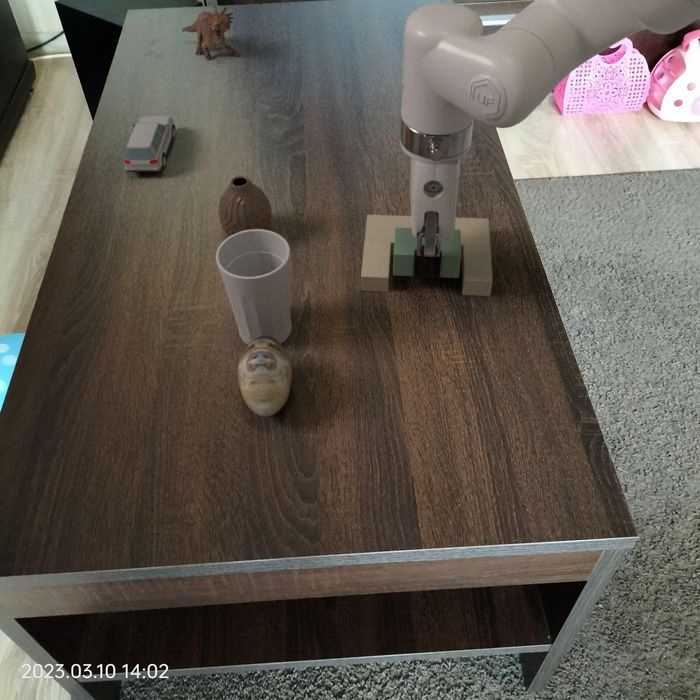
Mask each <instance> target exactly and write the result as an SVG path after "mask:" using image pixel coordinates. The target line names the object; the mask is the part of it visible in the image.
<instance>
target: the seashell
mask: <svg viewBox="0 0 700 700" xmlns="http://www.w3.org/2000/svg"><path fill="white" fill-rule="evenodd" d="M237 381H238V388H239V391H240V394H241V396H242V399H243V401H244V402H245V404H246V406H247V407H248V409H249V410H251V412H252V413H254V414H256V415H257V416H260V417H265V418H266V417H271V416H273V415H275V414H277V413H278V412H279V411H280V410H281V409H282V408H283V406H284V405H285V404H286V403H287V400H288V398H289V396H290V392H291V388H292V382H293V370H292V363H291V360H290V357H289V355H288V352H287V350H286V349H285V348H284V346H283V345H282V343H281V344H280V343H279V342H278V341H277V340H276V339H274V338H272V337H270V336H268V335H262V336H259V337H257V338H256V339H254V340H253V341H252V342H250V343H249V344H246V347H245V348H243V350H242V353H241V355H240V358H239V361H238V367H237Z"/></svg>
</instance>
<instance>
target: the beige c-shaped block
mask: <svg viewBox="0 0 700 700" xmlns="http://www.w3.org/2000/svg"><path fill="white" fill-rule="evenodd" d="M396 227H397V228H412V223H411V215H394V214H393V215H392V214H391V215H390V214H367V215H366V223H365V232H364V233H365V234H364V243H363V253H362V261H361V264H362V265H361V271H360V272H361V273H360V291H361V292H377V293H378V292H379V293H388V292H389V286H390V271H391V260H392V259H391V258H394V241H395V228H396ZM455 229H456V230H461V284H462V285H461V287H462V288H461V289H462V290H461V291H462V296H478V297H491V295H492V288H493V282H494V281H493V279H494V278H493V265H492V252H491V251H492V249H491V248H492V247H491V235H490V219H489V218H485V217H484V218H482V217H481V218H480V217H478V218H477V217H456V221H455Z"/></svg>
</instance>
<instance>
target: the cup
mask: <svg viewBox="0 0 700 700" xmlns="http://www.w3.org/2000/svg"><path fill="white" fill-rule="evenodd" d="M215 261H216V265H217V268H218V270H219V271H218V272H219V273H220V277H221V279H222V282H223V285H224V288H225V291H226V294H227V298H228V301H229V304H230V307H231V310H232V313H233V315H234V319H235V322H236V325H237V329H238V333H239V337H240V339H241V340H242V342H243V343H245V344H246V345H248V344H249V343H250V342H252V341H253V340H254V339H256V338H257V337H259V336H262V335H268V336H270V337H272V338H274V339H276V340H277V341H278V342H279V343H280V344H281V345H282V343H284V342H285V341H287V339H288V338H289V337H290V335H291V333H292V330H293V329H292V328H293V326H292V317H291V286H290V285H291V283H290V282H291V281H290V279H291V278H290V277H291V248H290V244H289V243H288V241H287V240H286V239H285V238H284V237H283V236H282V235H281V234H279V233H277V232H275V231H272V230H270V229H269V230H263V229H251V230H245V231H241V232H238V233H236V234H233V235H231V236H230V237H229V236H227V238H225V239H224V240H223V241H222V242H221V243H220V244H219V246H218V247H217V249H216V252H215Z"/></svg>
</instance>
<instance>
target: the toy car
mask: <svg viewBox="0 0 700 700" xmlns="http://www.w3.org/2000/svg"><path fill="white" fill-rule="evenodd" d="M132 127H133V129H132V132H131V135H130V137H129V140H128V142H127V145H126V148H125V153H124V159H123V162H124V169H125V172H127V173H159V172H161V171H162V170H165V169H166V167H167V157H168V155H169V152H170V148H171V145H172V142H173V141H175V139H176V125H175V122H174V120H173V118H172V117H171V116H170V115H164V114H163V115H161V114H160V115H159V114H157V115H146V116H141V117H140V118H139V120H138V121H137V123H136V122H135V123H132Z"/></svg>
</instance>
